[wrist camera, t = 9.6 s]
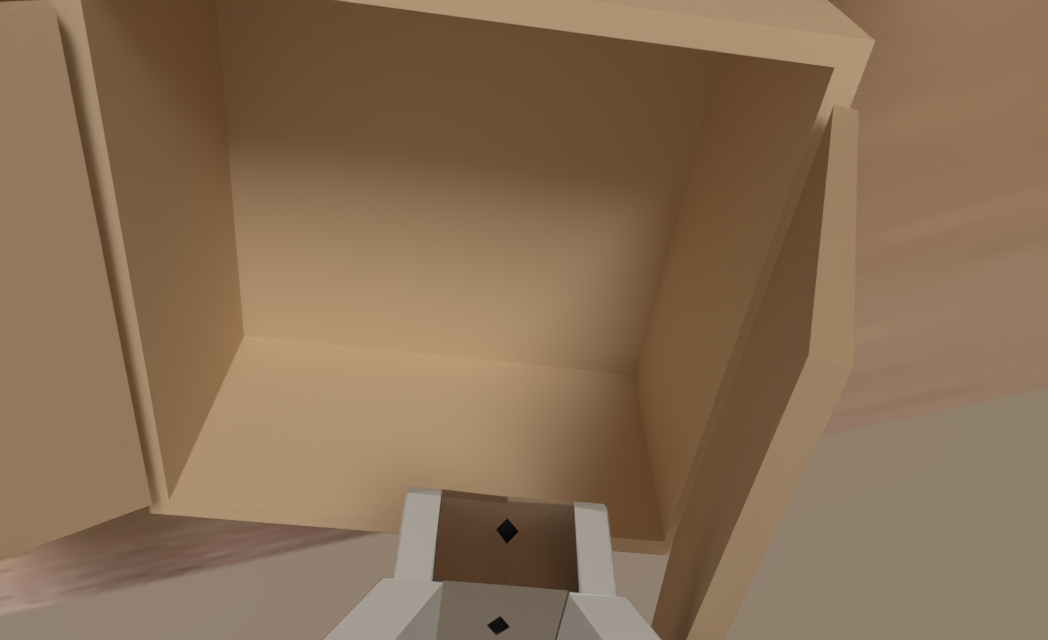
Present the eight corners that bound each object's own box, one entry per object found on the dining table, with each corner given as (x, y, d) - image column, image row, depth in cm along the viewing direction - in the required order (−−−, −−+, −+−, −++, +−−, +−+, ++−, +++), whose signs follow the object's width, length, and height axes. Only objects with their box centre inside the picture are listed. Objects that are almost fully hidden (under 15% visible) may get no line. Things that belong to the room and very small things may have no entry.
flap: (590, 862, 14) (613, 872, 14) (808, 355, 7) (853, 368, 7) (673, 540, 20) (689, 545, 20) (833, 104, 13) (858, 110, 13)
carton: (766, -52, 19) (875, 40, 13) (643, 378, 26) (678, 556, 21) (188, -137, 18) (32, -76, 12) (233, 337, 25) (150, 513, 19)
